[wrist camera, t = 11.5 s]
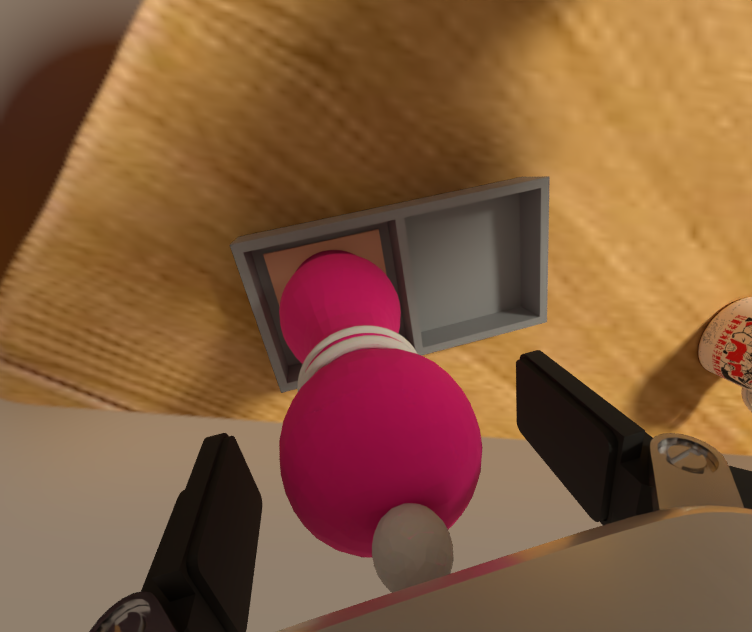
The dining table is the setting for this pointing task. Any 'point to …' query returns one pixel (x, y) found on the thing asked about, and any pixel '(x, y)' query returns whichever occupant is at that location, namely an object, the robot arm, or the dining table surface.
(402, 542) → the pepper mill
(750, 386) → the teacup with lid
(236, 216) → the dining table surface
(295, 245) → the tray
